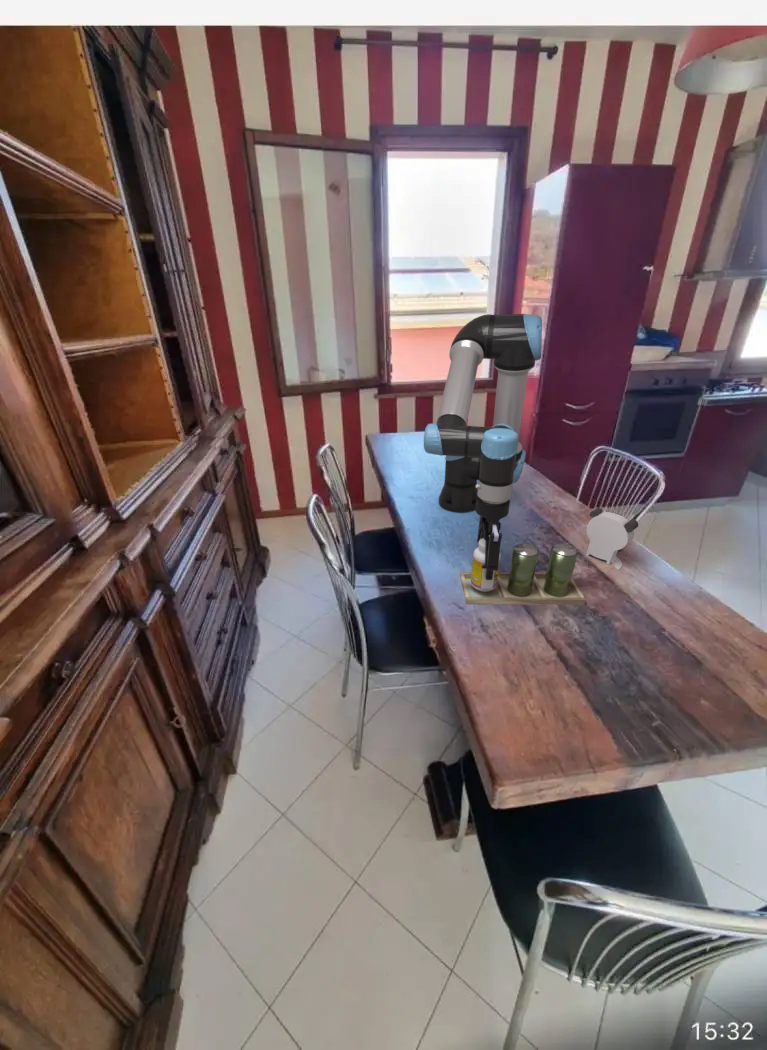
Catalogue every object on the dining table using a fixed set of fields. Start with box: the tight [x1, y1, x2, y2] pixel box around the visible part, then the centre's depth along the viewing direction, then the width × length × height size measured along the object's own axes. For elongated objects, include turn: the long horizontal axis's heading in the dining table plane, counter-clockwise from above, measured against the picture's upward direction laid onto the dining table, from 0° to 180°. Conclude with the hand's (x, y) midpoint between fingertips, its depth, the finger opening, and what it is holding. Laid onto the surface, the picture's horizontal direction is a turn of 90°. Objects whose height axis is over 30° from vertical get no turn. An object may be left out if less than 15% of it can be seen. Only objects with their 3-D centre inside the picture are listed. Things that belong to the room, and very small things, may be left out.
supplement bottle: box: [470, 538, 502, 592], centre depth 105 cm, size 7×7×13 cm
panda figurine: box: [585, 507, 639, 571], centre depth 118 cm, size 12×11×15 cm
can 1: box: [507, 543, 540, 597], centre depth 105 cm, size 6×6×12 cm
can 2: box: [544, 543, 579, 597], centre depth 105 cm, size 6×6×12 cm
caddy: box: [459, 571, 587, 606], centre depth 108 cm, size 12×29×2 cm, turn 88°
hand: (483, 579), depth 107 cm, fingers closed on supplement bottle, 7 cm apart
